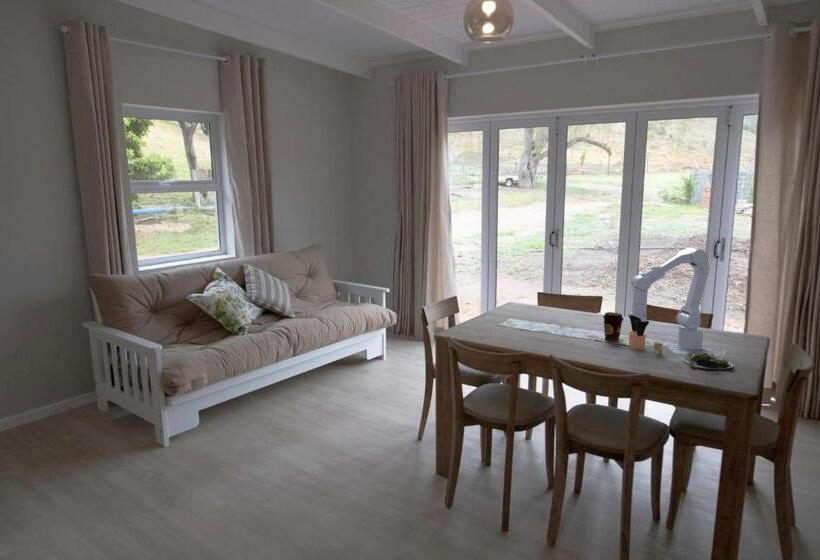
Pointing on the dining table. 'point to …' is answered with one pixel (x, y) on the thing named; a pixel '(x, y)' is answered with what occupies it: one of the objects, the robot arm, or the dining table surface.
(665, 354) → the mat
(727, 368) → the salad plate
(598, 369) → the dining table surface
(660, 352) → the post
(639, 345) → the peach foam cube
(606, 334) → the coffee cup
